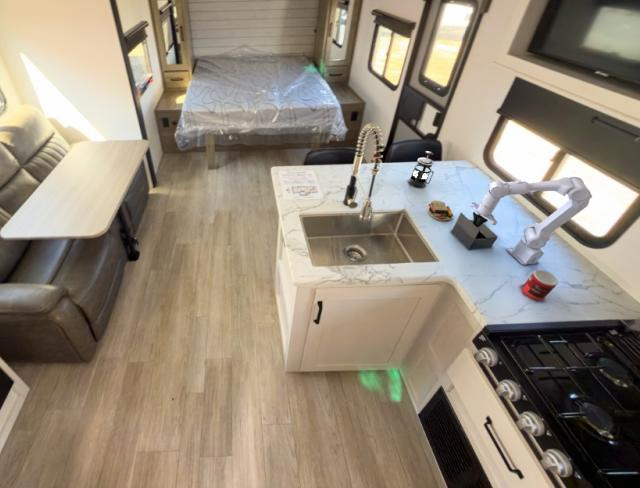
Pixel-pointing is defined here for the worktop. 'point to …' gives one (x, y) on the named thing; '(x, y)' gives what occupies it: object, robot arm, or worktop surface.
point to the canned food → (539, 285)
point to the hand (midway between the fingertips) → (475, 226)
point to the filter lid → (467, 225)
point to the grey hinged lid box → (482, 239)
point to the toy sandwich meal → (440, 211)
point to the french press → (422, 172)
